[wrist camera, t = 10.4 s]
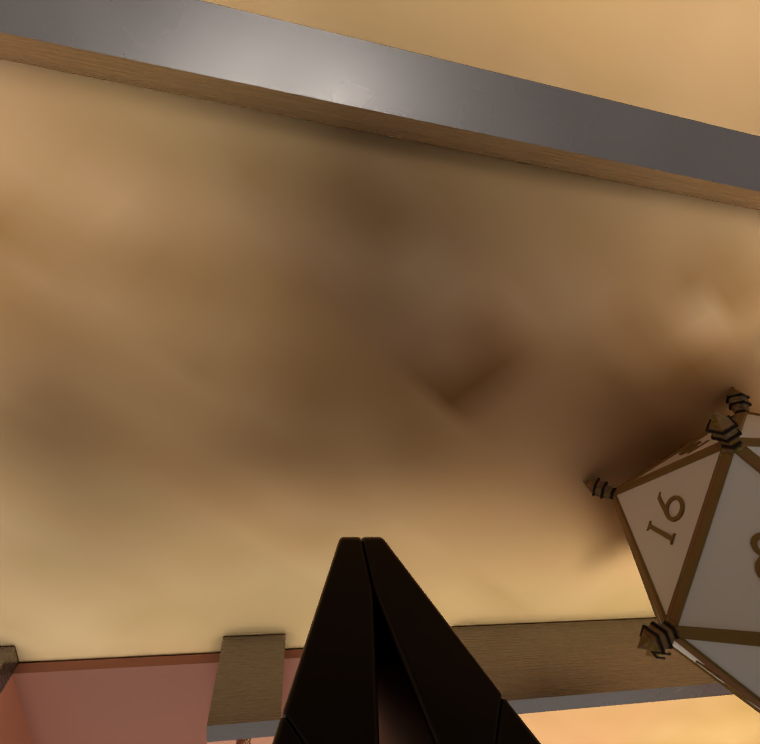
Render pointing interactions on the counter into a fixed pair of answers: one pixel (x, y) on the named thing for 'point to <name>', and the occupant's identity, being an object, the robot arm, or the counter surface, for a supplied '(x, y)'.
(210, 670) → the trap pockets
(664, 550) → the game die
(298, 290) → the counter surface
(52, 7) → the lane rails
